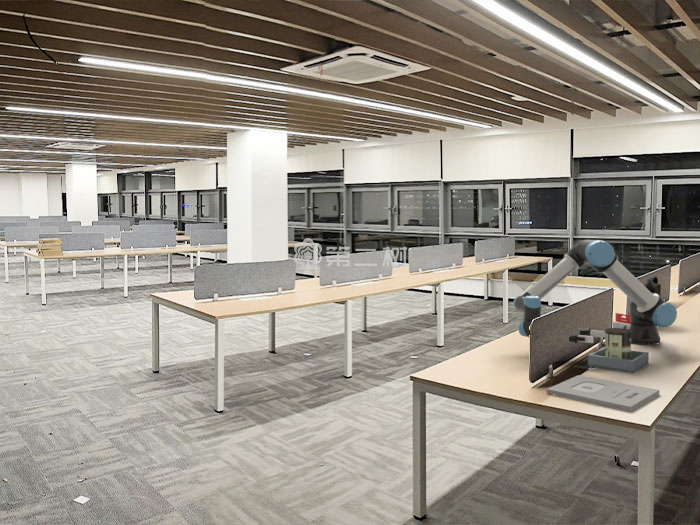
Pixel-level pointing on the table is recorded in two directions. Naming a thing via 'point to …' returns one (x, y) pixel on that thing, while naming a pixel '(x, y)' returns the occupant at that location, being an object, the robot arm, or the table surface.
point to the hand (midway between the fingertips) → (599, 337)
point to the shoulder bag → (653, 285)
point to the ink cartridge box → (622, 321)
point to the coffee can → (618, 343)
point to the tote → (618, 361)
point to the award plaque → (604, 392)
